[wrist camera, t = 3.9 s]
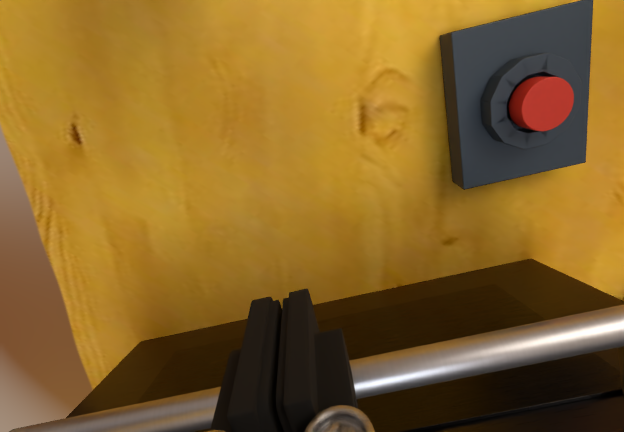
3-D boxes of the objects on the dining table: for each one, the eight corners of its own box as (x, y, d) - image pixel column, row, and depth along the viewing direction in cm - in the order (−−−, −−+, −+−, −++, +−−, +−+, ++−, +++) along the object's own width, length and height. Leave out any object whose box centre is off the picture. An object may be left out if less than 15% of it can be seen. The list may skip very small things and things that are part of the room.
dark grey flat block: (439, 35, 28) (460, 29, 24) (570, 3, 28) (612, -8, 24) (452, 182, 32) (472, 196, 29) (566, 156, 32) (601, 167, 28)
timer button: (507, 83, 26) (521, 83, 25) (558, 71, 26) (575, 71, 24) (508, 133, 27) (522, 136, 26) (557, 121, 27) (573, 125, 26)
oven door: (126, 297, 37) (-299, 603, 11) (524, 210, 35) (1078, 346, 9) (144, 355, 38) (-212, 757, 12) (533, 273, 36) (1060, 551, 10)
